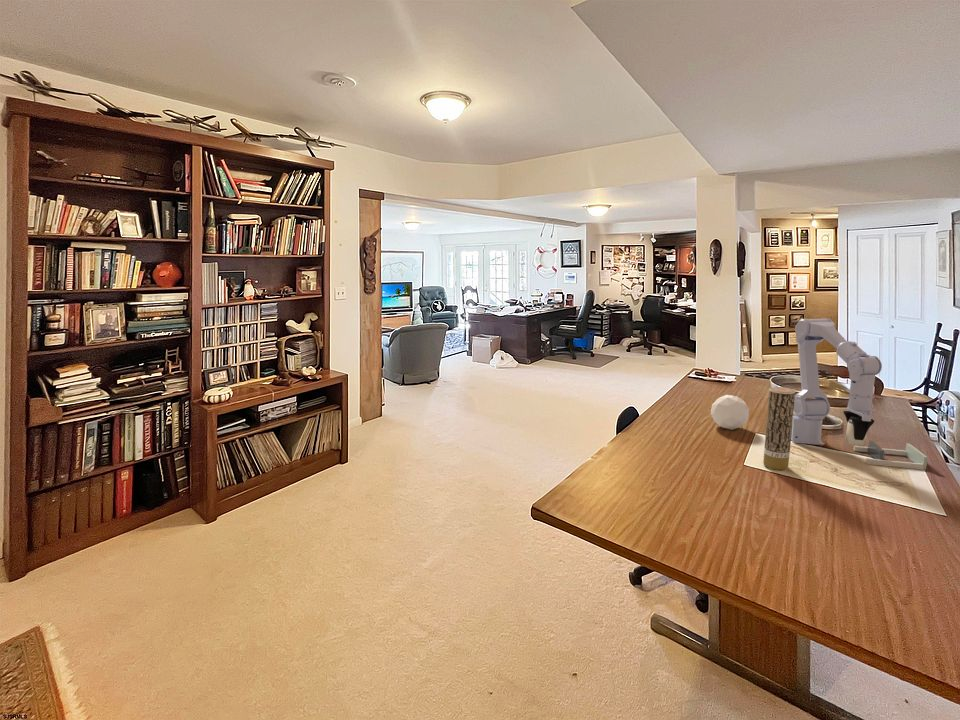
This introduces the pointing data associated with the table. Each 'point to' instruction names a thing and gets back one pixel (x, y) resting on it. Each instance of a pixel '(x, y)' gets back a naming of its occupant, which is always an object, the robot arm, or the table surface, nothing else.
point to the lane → (910, 452)
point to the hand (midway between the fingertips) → (855, 436)
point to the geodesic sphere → (729, 412)
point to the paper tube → (779, 428)
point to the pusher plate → (875, 450)
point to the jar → (850, 435)
